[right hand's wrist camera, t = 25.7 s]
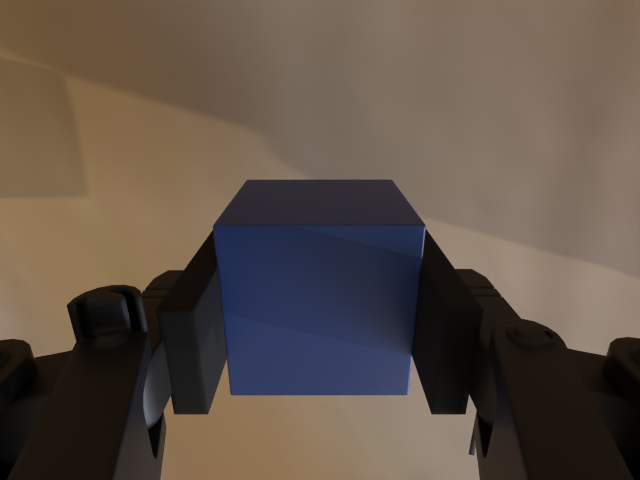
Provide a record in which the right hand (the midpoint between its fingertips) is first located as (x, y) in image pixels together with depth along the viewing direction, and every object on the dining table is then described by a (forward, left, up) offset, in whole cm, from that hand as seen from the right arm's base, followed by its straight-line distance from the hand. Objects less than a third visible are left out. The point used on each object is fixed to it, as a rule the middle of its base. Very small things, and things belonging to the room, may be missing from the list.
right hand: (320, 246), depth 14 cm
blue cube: (0, 0, 0) cm, 0 cm away
